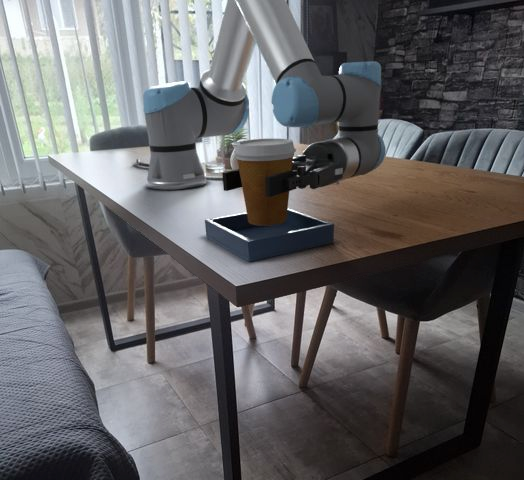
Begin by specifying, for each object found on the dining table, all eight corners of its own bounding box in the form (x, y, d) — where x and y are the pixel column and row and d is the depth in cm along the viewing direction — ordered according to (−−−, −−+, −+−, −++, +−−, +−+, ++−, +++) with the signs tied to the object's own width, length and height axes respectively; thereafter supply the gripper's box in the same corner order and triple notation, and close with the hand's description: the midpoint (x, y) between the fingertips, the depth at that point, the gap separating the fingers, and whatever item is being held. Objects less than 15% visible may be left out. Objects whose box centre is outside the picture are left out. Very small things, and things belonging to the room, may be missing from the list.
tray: (206, 237, 84) (204, 219, 82) (282, 222, 90) (282, 205, 89) (249, 262, 72) (247, 241, 70) (333, 243, 78) (334, 223, 77)
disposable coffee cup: (252, 212, 85) (248, 138, 79) (304, 215, 81) (304, 138, 75) (228, 226, 77) (222, 145, 71) (284, 230, 74) (282, 146, 68)
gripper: (379, 189, 84) (301, 218, 69) (284, 179, 96) (200, 201, 81) (382, 142, 80) (301, 162, 65) (283, 138, 92) (195, 154, 77)
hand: (245, 184), depth 73 cm, fingers closed on disposable coffee cup, 8 cm apart
